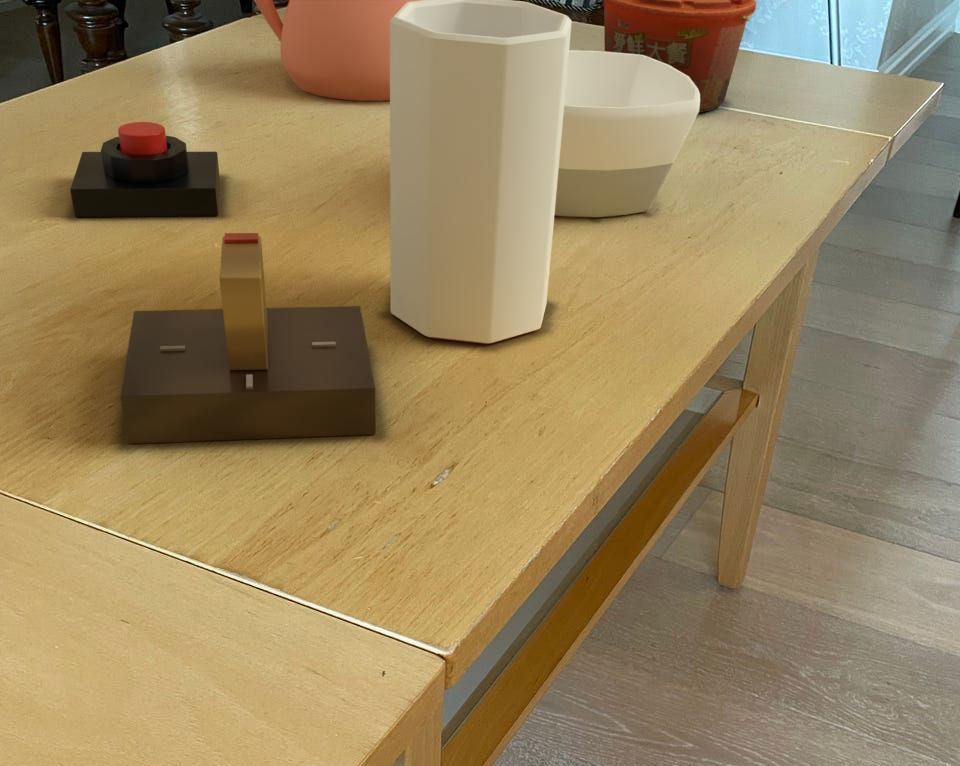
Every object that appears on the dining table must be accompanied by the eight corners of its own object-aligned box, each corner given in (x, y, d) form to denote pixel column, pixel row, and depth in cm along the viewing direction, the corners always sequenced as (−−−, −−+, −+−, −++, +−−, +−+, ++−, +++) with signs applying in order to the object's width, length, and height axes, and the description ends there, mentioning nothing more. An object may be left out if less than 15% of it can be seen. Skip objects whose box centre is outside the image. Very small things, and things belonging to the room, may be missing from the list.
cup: (444, 265, 86) (452, -13, 74) (576, 303, 82) (607, 15, 70) (357, 317, 79) (351, 17, 67) (498, 361, 75) (518, 50, 63)
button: (119, 159, 90) (115, 135, 89) (122, 144, 93) (119, 121, 92) (166, 158, 91) (163, 135, 90) (168, 144, 94) (165, 121, 93)
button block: (75, 217, 90) (65, 165, 88) (86, 178, 97) (78, 128, 94) (218, 216, 92) (213, 164, 89) (219, 177, 99) (215, 128, 96)
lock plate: (127, 444, 65) (119, 393, 63) (140, 355, 73) (133, 308, 71) (376, 434, 67) (375, 385, 65) (361, 349, 75) (360, 303, 73)
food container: (604, 70, 131) (616, -37, 124) (745, 88, 128) (764, -21, 122) (575, 108, 119) (586, -9, 113) (729, 128, 117) (750, 9, 110)
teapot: (486, 67, 130) (492, -71, 121) (490, 111, 117) (497, -40, 109) (263, 57, 129) (253, -83, 120) (242, 99, 116) (230, -54, 107)
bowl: (457, 161, 105) (461, 48, 99) (643, 158, 108) (658, 48, 102) (500, 235, 92) (508, 110, 85) (710, 228, 95) (732, 107, 89)
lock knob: (267, 370, 66) (260, 273, 62) (228, 370, 66) (219, 273, 62) (267, 324, 71) (260, 231, 67) (231, 324, 70) (222, 231, 67)
